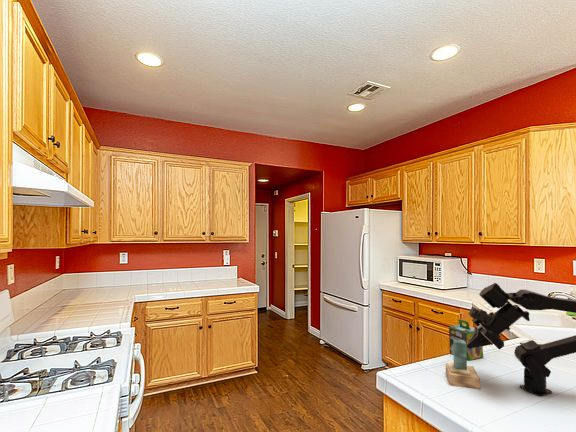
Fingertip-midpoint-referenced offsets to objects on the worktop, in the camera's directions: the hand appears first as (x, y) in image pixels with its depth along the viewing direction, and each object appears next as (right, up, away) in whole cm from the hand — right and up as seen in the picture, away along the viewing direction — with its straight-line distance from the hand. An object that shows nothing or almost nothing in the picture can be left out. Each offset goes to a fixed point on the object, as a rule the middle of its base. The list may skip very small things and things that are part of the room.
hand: (467, 347), depth 114 cm
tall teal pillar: (-3, -8, +1) cm, 8 cm away
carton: (-2, -12, 0) cm, 12 cm away
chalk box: (+12, -13, +23) cm, 29 cm away
